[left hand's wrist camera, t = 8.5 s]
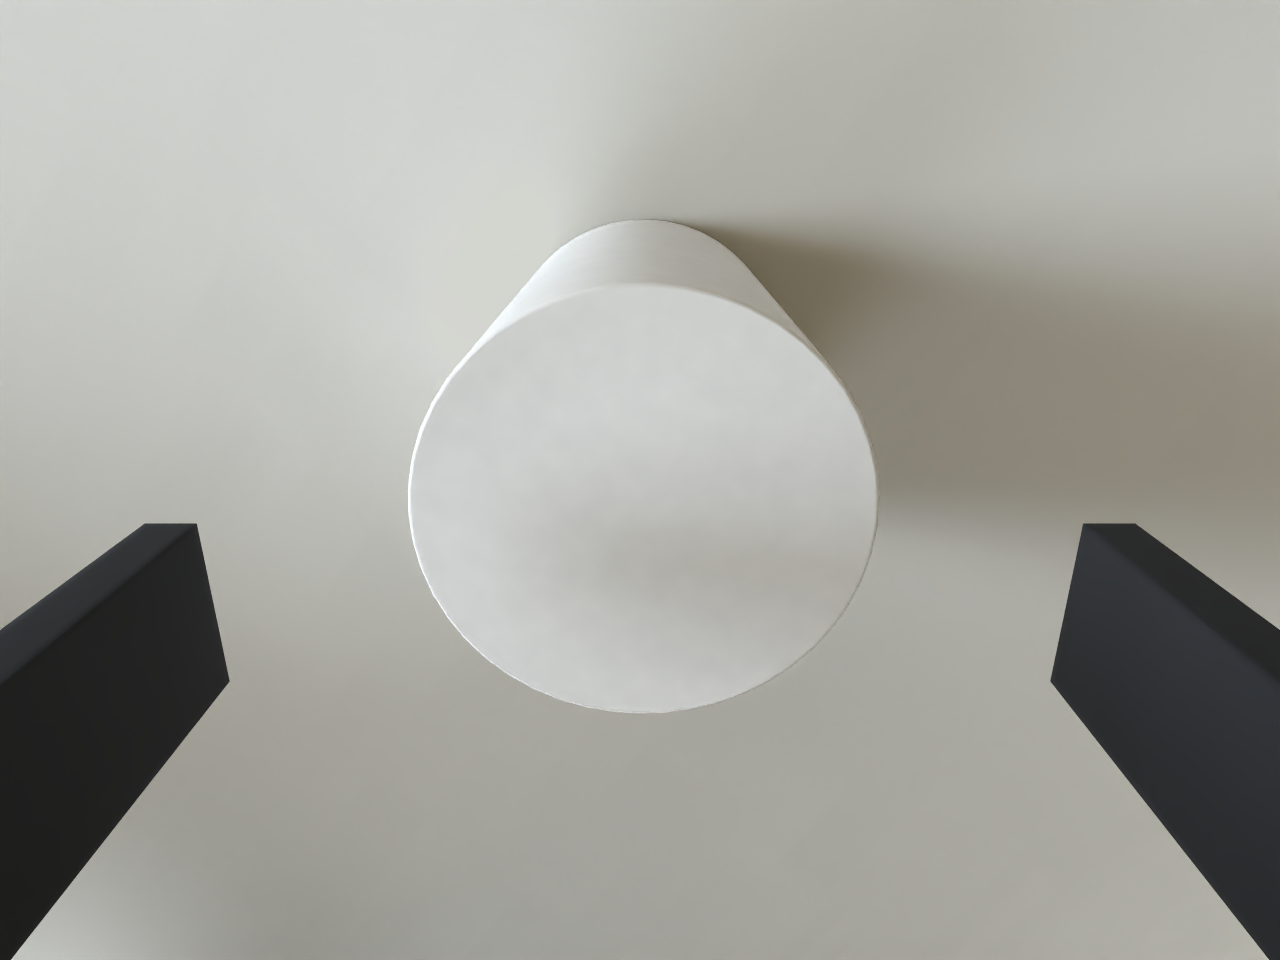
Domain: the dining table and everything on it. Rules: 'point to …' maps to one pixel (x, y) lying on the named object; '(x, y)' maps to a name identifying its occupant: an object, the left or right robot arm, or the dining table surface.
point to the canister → (643, 479)
